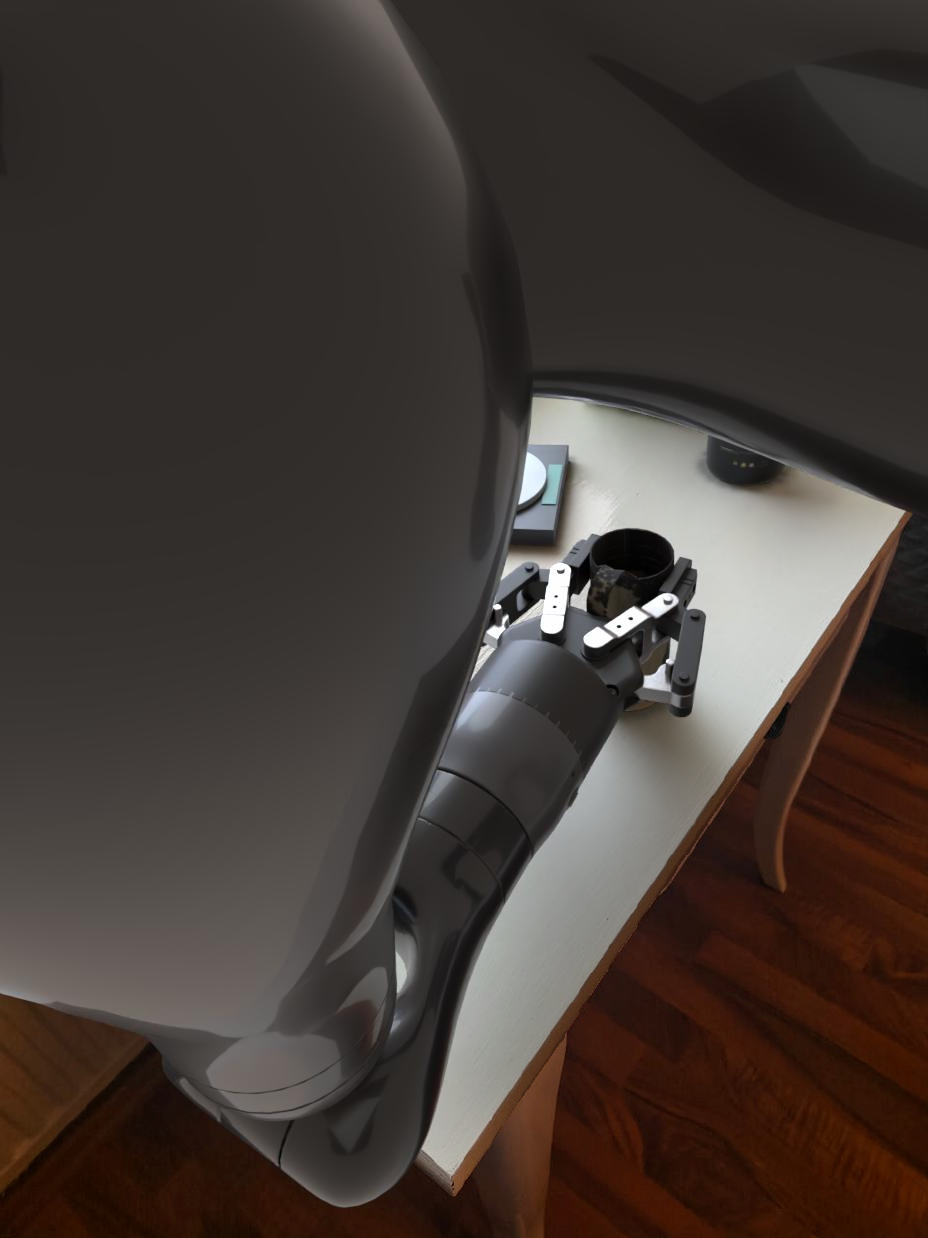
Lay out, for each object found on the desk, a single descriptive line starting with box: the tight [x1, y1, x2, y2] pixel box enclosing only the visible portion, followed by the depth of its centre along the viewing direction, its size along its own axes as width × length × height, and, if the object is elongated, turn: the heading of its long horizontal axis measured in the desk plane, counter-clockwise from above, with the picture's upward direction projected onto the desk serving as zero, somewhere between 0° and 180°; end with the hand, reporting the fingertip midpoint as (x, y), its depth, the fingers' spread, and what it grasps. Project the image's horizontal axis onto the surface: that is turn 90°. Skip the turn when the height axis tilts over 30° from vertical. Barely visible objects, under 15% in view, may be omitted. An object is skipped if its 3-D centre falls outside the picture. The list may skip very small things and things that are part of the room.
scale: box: [510, 443, 570, 547], centre depth 76 cm, size 13×13×2 cm
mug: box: [585, 527, 675, 712], centre depth 54 cm, size 8×6×12 cm
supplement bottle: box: [705, 435, 786, 486], centre depth 72 cm, size 7×7×12 cm
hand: (640, 557), depth 53 cm, fingers closed on mug, 5 cm apart
